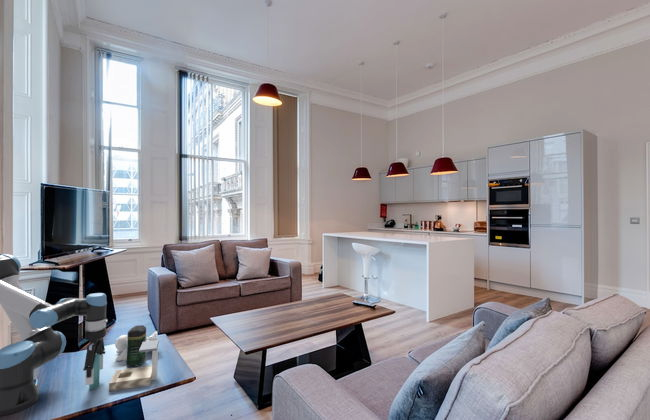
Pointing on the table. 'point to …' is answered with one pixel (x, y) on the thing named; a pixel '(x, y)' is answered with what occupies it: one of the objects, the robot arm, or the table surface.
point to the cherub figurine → (123, 342)
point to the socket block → (131, 378)
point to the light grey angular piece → (154, 348)
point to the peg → (96, 372)
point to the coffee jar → (135, 346)
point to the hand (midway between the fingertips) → (94, 376)
